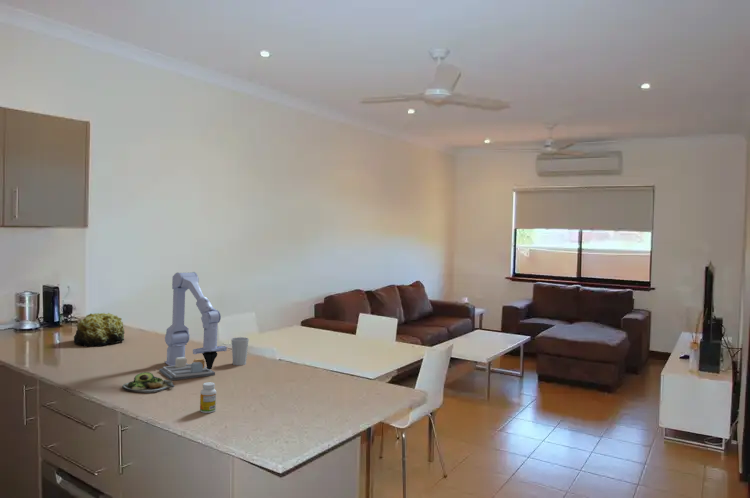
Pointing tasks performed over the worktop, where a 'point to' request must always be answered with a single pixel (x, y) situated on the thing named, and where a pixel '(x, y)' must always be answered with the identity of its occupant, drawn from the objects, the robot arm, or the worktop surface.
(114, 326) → the mossy green rock
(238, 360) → the cup
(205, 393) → the supplement bottle
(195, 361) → the slider orange
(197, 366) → the slider blue
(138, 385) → the salad plate
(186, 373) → the panel
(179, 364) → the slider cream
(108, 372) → the worktop surface
